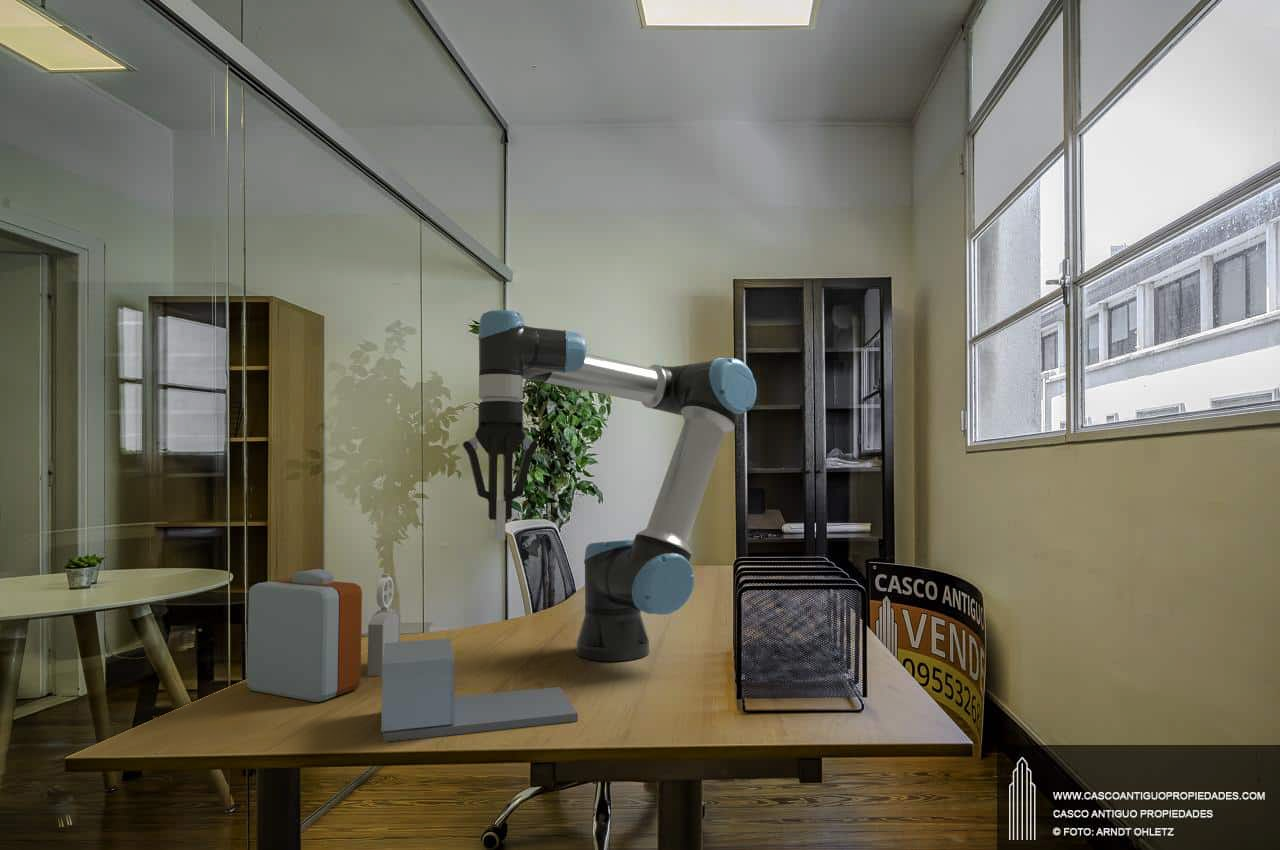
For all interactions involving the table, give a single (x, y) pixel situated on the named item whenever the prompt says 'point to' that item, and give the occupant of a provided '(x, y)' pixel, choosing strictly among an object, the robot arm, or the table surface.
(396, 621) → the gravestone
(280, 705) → the table surface
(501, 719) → the jig
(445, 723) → the grey upright block
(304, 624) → the alarm clock
